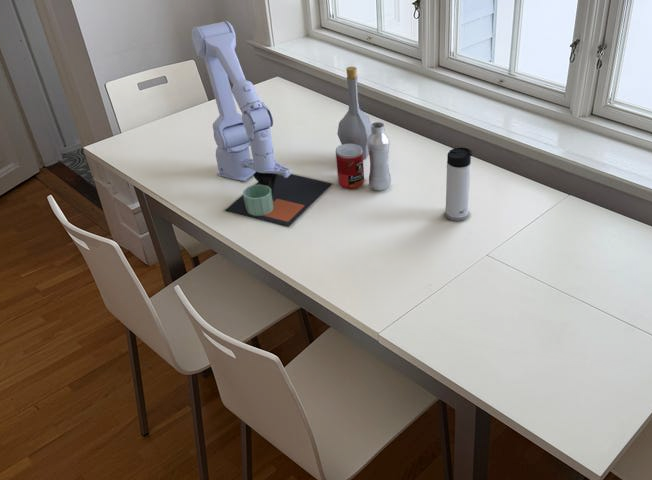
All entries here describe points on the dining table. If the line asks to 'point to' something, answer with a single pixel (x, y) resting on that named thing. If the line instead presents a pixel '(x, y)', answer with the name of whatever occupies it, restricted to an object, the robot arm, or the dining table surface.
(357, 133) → the bottle
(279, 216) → the mat
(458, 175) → the travel mug
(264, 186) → the cup
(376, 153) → the silver smooth rounded piece
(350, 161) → the canned food
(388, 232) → the dining table surface
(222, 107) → the robot arm
